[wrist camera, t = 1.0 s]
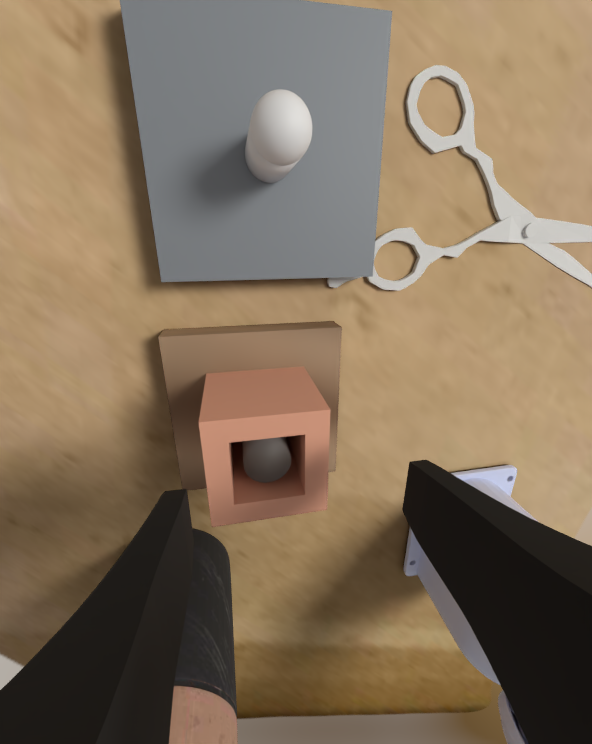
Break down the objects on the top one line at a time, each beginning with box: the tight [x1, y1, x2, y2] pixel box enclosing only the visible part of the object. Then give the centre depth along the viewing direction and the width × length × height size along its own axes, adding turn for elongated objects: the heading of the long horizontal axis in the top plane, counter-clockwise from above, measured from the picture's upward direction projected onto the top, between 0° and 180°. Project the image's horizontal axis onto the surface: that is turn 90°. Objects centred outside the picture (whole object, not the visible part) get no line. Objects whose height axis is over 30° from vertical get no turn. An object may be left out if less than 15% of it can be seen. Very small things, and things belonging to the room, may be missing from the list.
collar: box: [199, 366, 330, 527], centre depth 16 cm, size 5×5×5 cm
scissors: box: [327, 65, 592, 291], centre depth 19 cm, size 11×1×20 cm
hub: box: [120, 0, 392, 282], centre depth 13 cm, size 10×10×6 cm
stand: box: [158, 321, 342, 490], centre depth 17 cm, size 9×9×6 cm
